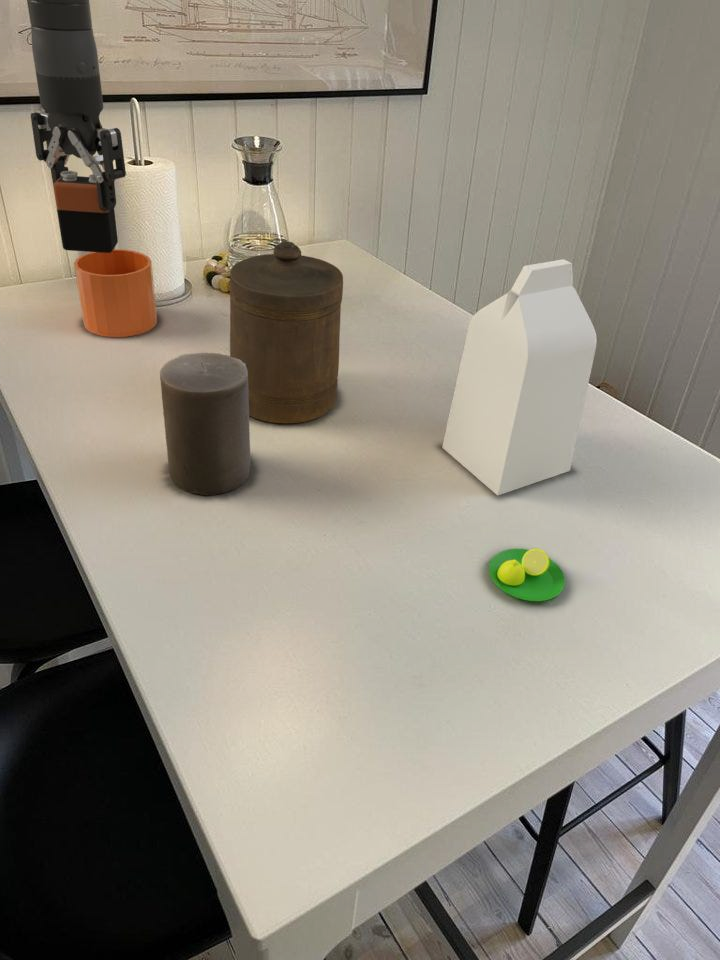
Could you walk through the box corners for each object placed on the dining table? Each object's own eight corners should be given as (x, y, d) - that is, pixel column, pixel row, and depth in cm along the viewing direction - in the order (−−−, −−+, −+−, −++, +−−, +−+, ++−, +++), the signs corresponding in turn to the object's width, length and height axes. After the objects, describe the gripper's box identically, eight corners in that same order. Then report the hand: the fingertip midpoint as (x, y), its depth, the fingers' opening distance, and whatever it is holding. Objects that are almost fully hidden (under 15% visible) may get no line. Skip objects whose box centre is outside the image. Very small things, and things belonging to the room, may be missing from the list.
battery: (70, 240, 108) (59, 167, 102) (119, 243, 109) (110, 171, 103) (62, 251, 104) (50, 176, 99) (112, 254, 105) (103, 180, 99)
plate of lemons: (519, 543, 84) (524, 523, 83) (578, 583, 80) (585, 563, 78) (472, 573, 80) (476, 553, 78) (532, 617, 75) (538, 597, 74)
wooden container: (354, 389, 110) (365, 240, 97) (302, 436, 99) (307, 274, 86) (268, 362, 115) (268, 216, 102) (210, 404, 104) (201, 246, 91)
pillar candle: (202, 506, 86) (194, 391, 77) (153, 468, 91) (140, 357, 82) (267, 473, 92) (267, 363, 83) (218, 440, 97) (212, 333, 88)
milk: (497, 495, 91) (542, 291, 76) (442, 447, 99) (472, 253, 84) (570, 470, 97) (625, 275, 81) (512, 426, 104) (553, 241, 89)
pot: (68, 324, 120) (57, 263, 115) (120, 301, 129) (112, 244, 123) (121, 344, 116) (113, 282, 110) (171, 319, 124) (166, 260, 119)
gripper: (132, 75, 93) (144, 208, 103) (51, 57, 99) (69, 186, 108) (85, 81, 88) (102, 221, 98) (2, 62, 93) (26, 197, 103)
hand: (85, 202), depth 103 cm, fingers closed on battery, 8 cm apart
